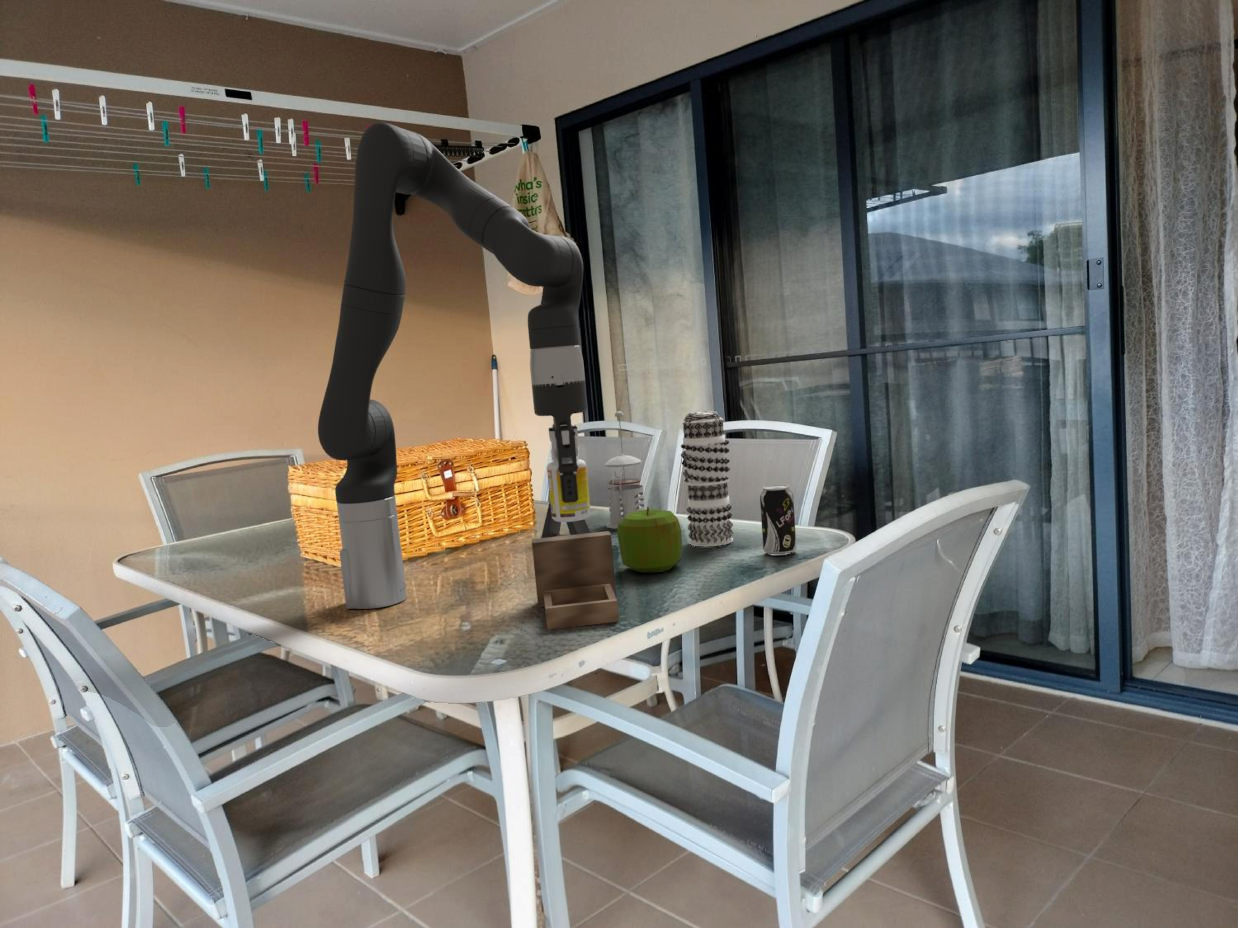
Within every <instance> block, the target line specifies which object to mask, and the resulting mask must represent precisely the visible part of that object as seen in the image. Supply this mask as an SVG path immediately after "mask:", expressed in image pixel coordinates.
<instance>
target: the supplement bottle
mask: <svg viewBox="0 0 1238 928" xmlns="http://www.w3.org/2000/svg"><path fill="white" fill-rule="evenodd" d="M550 455H551V456H550V457H551V461H552V462H550V463H548V464H547V465H546V472H547V482H548V483H547V485H548V494H549V502H550V504H551V514H552V518H553V520H555V521H557V522H561V523H566V522H572V521H579V520H583V519H586V520H587V518H589V517H590V516H591V505H590V494H589V484H588V483H589V482H588V473H587V464H586V461H585V460H583V459H580V456H581V455H580V449H579V446H578V458H577V459H576V460H577V465H578V472H577V475H576V480H577V490H578V501H576V502H570V503H564V502H563V500H562V492H561V481H560V476H559V474H558V462H557V461H555V460H554V455H553V449H552V448H551V450H550ZM568 463H572V461H571V460H562V464H568Z"/></svg>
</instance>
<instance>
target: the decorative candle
mask: <svg viewBox="0 0 1238 928" xmlns="http://www.w3.org/2000/svg"><path fill="white" fill-rule="evenodd" d="M723 420H724V418H722V417H721V415H719V413H718V412H717V411H714V410H707V411H706V410H704V411H702V410H701V411H695V412H694V411H693V412H692V411H691V412H688V413H687V414H686V415H685V417H684V419H683V420H682V421H680V423H681V424H682V427H683V428H682V431H683V437H682V444H681V445H680V448H681V449H684V450H683V451H682V452H681V453H680V457H681V458H682V459H683V460H682V461H681V465H682V466H683V467H684V468H686V469H684V471H683V473H682V475H683V476H684V477H685V478H684V480H683V482H684V485H686V486H687V493H688V498H687V507H686V512H687V513H688V516H686V518H687V520H688V521H689V522H690V523H689V524H688V525H687V530H688V531H689V533H688V535H687V536H688V538H689V539H690V541H689V542H688V543H689V545H690V544H691V545H694V546H693V547H695V546H716V545H722V544H727V543H729V542H732V541H733V539H734V538H733V535H734V531H733V530H732V529H733V526H734V523H733V522H732V521H731V520H730V519H731V518H732V516H733V514H732V513H731V512H730V511H731V510H732V508H733V506H732V505H730V496H729V493H728V492H729V491H728V490H729V489H728V482H730V478H729V477H728V476H727V473H728V472H730V471H731V468H730V467H728V466H727V465H728V464H729V463H730V459H729V458H727V457H725V455H727V454H728V453H729V452H730V449H729V448H728V447H726V446H728V445H729V444H730V441H729V440H727V439H726V434H724V433H725V432H724V431H725V430H724V421H723ZM733 542H734V541H733ZM691 545H690V546H691Z"/></svg>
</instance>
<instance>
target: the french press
mask: <svg viewBox="0 0 1238 928" xmlns="http://www.w3.org/2000/svg"><path fill="white" fill-rule="evenodd" d="M614 417H616V418H617V417H618V421H619V423H618V424H619V435H620V446H621V454H620V455H617V456H615V457H612V458H610V459H609V460H608V461H607V462H605V463H604V466H605V467H606V468H623V471H621V473H620V474H619V475H620V476H618V475H617V473H616V471H614V472H613V474H612V480H609V481H608V484H609V485H611V487H607V494H608V497H607V498H608V501H609V502H608V506H609V508H608V510H609V511H608V512H609V519H610V520H609V522H608V523H607V524H606V528H609V529H615V530H616V529H617V530H618V523H619V522H620V521H621V520H622V519H623V518H624V517H625V516H626V515H627V514H630V513H632V512H636V511H639V510H646V509H645V498H644V497H645V496H644V486H643V485H642V484H639V483H640V482H641V480H642V479H641V478H637V477H631V478H630V477H626V475H625V474H626V473H625V467H630V466H636V465H640V464H641V463H642V460H641V459H640V458H637V457H635V456H633V455H627V454H624V451H623V450H624V449H623V439H622V438H623V437H622V428H621V427H622V426H621V417H624V412H623V411H621V410H618V411H616V412H615V413H614ZM615 478H616V479H615ZM639 501H640V502H639ZM621 507H622V508H621Z"/></svg>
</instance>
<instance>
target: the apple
mask: <svg viewBox="0 0 1238 928" xmlns="http://www.w3.org/2000/svg"><path fill="white" fill-rule="evenodd" d="M616 534H617V541H618V547H619V548H618V549H619V552H620V553H619V554H620V557H621V562H622V565H623V566H625V567H627V568H628V569H631V570H633V571H635V572H637V573H647V574H648V573H650V574H651V573H662V572H667V571H670V570H671V569H672V568H673V567H674V566H675V565H677V563H678V562H679V561H680V560H681V559H682V548H683V538H682V537H683V535H682V528H681V524H680V521H679V519H678V517H677V515H675V513H674V512H672V511H671V510H665V509H654V508H653V509H651V508H650V507H648V506H647V507H646V509H645V510H639V511H636V512H632V513H630V514H627V515H626V516H625V517H624V518H623V519H622V520H621V521H620V522H619V523H618V529H617V531H616Z"/></svg>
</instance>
